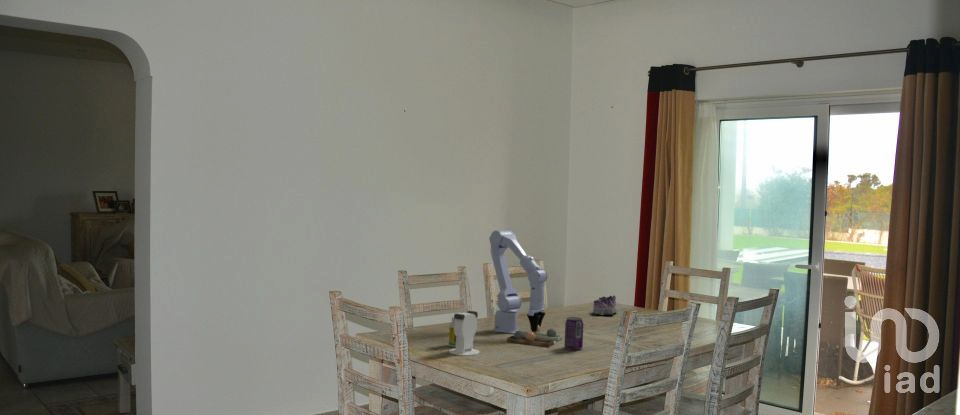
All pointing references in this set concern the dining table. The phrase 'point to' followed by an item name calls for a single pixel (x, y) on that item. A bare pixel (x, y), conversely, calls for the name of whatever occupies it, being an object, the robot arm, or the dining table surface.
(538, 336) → the sage trough
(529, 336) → the terracotta ball
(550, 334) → the grey ball
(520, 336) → the grey ball
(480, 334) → the dining table surface
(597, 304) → the geode
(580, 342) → the beverage can
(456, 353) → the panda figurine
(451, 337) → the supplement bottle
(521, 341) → the walnut trough
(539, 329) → the terracotta ball
